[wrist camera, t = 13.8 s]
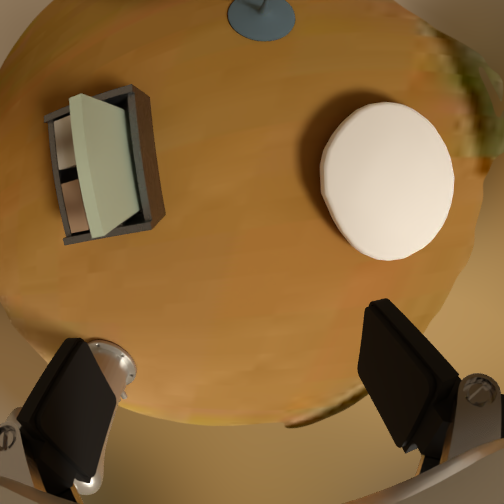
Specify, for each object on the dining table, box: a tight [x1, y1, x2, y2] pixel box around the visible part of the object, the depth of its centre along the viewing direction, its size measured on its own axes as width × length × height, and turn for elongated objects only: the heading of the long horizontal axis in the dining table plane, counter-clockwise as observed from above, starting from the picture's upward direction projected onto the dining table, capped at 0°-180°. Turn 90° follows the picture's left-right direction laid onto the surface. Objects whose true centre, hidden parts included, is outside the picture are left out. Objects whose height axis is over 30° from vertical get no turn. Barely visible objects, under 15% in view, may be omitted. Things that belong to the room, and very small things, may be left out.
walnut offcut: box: [61, 179, 90, 233], centre depth 36 cm, size 7×3×8 cm, turn 6°
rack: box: [44, 84, 166, 245], centre depth 35 cm, size 19×14×9 cm
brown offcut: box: [54, 115, 77, 170], centre depth 33 cm, size 7×3×8 cm, turn 6°
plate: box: [320, 102, 454, 261], centre depth 41 cm, size 28×6×27 cm
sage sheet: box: [69, 93, 142, 238], centre depth 30 cm, size 14×1×18 cm, turn 8°
